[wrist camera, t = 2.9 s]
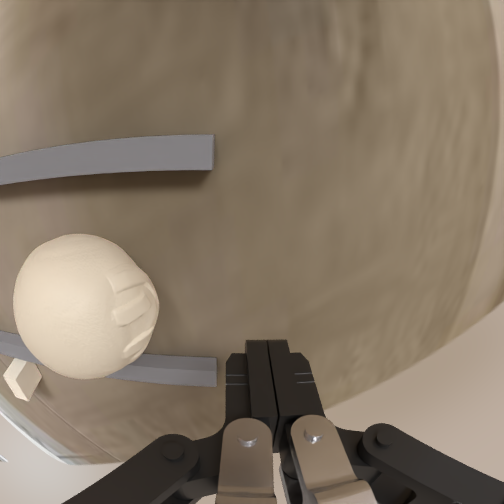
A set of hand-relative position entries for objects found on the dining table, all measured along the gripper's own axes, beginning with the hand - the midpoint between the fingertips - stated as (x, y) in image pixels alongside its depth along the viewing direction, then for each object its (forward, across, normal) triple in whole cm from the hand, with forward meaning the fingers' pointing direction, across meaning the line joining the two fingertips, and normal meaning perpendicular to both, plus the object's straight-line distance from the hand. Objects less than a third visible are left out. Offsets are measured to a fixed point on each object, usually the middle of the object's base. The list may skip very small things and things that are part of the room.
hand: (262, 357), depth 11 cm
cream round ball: (+6, +8, 0) cm, 10 cm away
